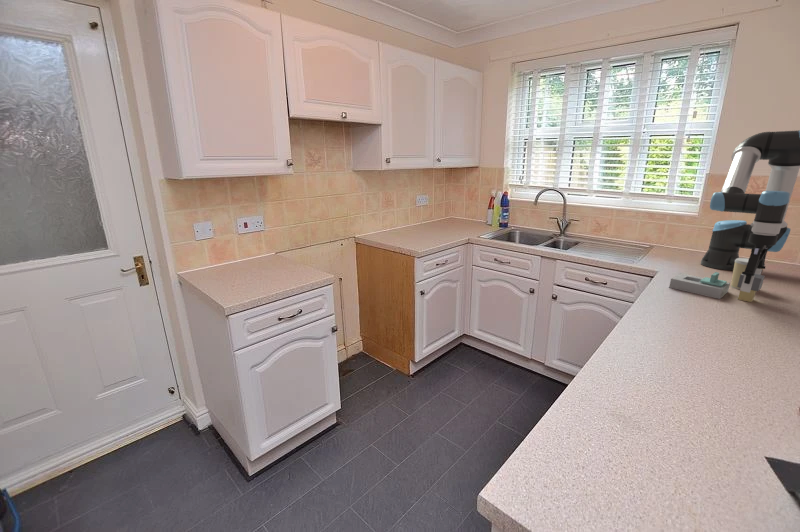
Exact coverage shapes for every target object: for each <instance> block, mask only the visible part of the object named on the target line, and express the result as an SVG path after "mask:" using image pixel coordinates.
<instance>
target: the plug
mask: <svg viewBox="0 0 800 532" xmlns="http://www.w3.org/2000/svg"><path fill="white" fill-rule="evenodd" d="M743 278H744V274H741V275H740V278H739V282H738V286H737V287H739V288H741V285H742V282H743ZM764 280H765V275H764V274H763V275H762V274H761V275H759V274H755V275H754V280H753V283H752V287H751V290H750V293H749V292H744V291H740V290H739V292H738V293H739V294H738V297H737V300H739V301H744V302H748V303H752V302H754V301H755V297H756V294H757V292H759V291H760V290H762V286H763V283H764Z"/></svg>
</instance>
